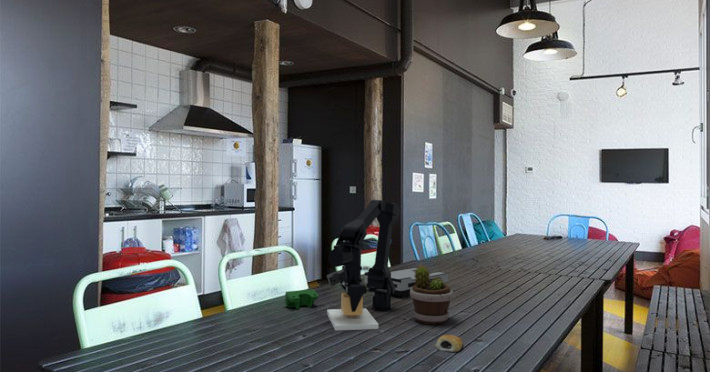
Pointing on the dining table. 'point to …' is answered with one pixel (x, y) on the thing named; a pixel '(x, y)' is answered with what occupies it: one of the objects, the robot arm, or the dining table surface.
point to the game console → (408, 280)
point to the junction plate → (351, 320)
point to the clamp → (300, 298)
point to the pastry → (449, 343)
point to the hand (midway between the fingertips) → (351, 309)
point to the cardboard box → (347, 305)
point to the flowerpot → (430, 298)
